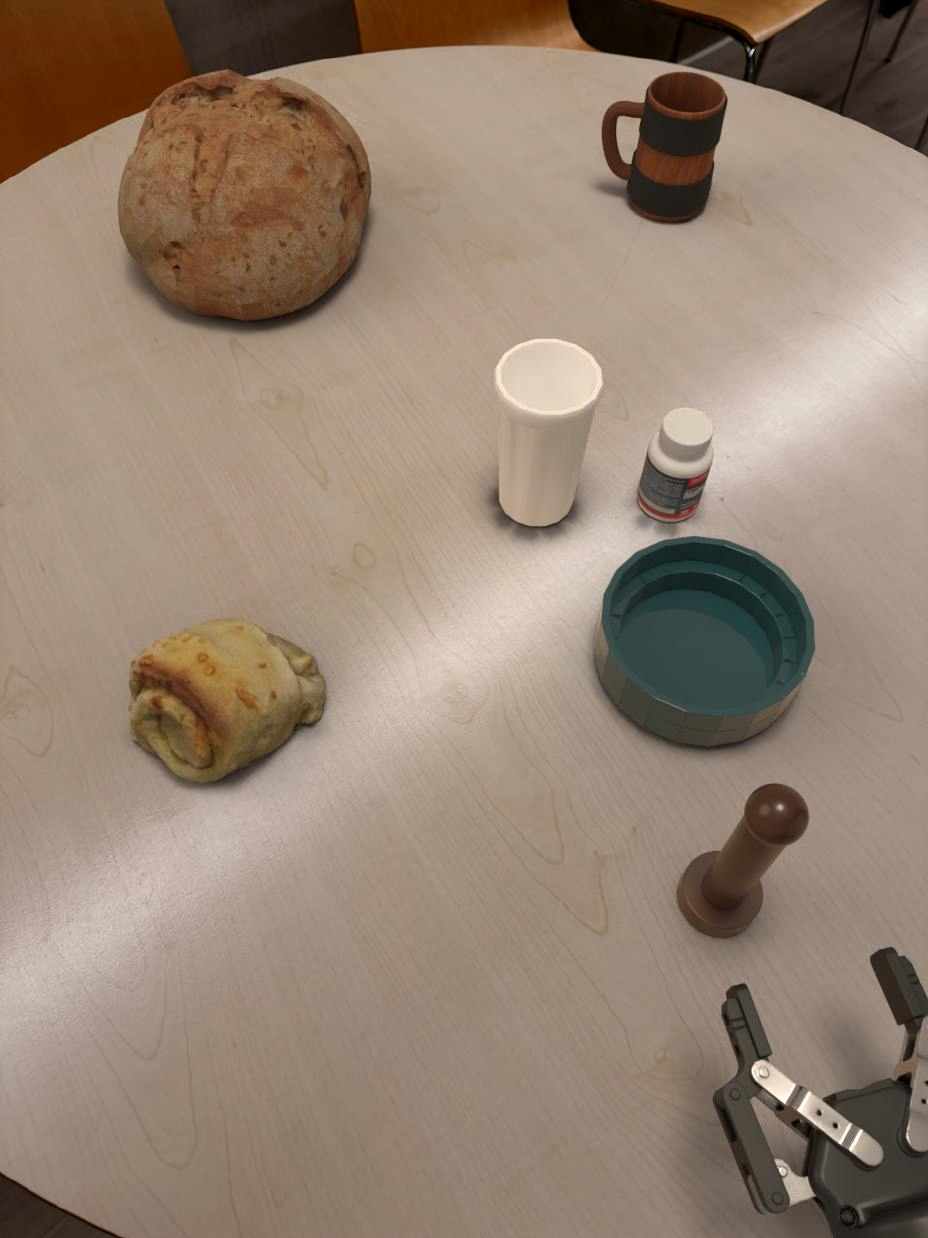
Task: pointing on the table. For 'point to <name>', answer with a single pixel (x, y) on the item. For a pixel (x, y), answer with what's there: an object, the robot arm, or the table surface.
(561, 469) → the cup
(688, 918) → the pestle
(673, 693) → the bowl
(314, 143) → the bread
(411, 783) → the table surface
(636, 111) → the mug
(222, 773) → the pastry
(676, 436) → the pill bottle
